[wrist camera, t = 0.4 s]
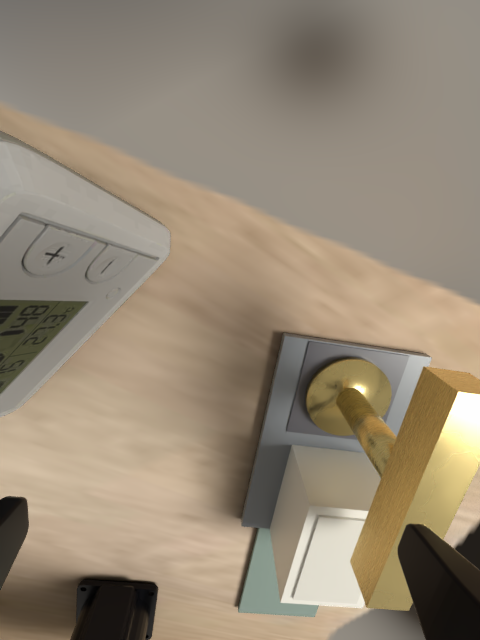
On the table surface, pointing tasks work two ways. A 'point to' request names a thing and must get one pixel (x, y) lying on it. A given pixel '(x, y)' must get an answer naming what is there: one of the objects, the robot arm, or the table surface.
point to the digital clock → (61, 264)
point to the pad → (266, 583)
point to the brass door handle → (401, 459)
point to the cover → (321, 525)
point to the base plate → (295, 422)
